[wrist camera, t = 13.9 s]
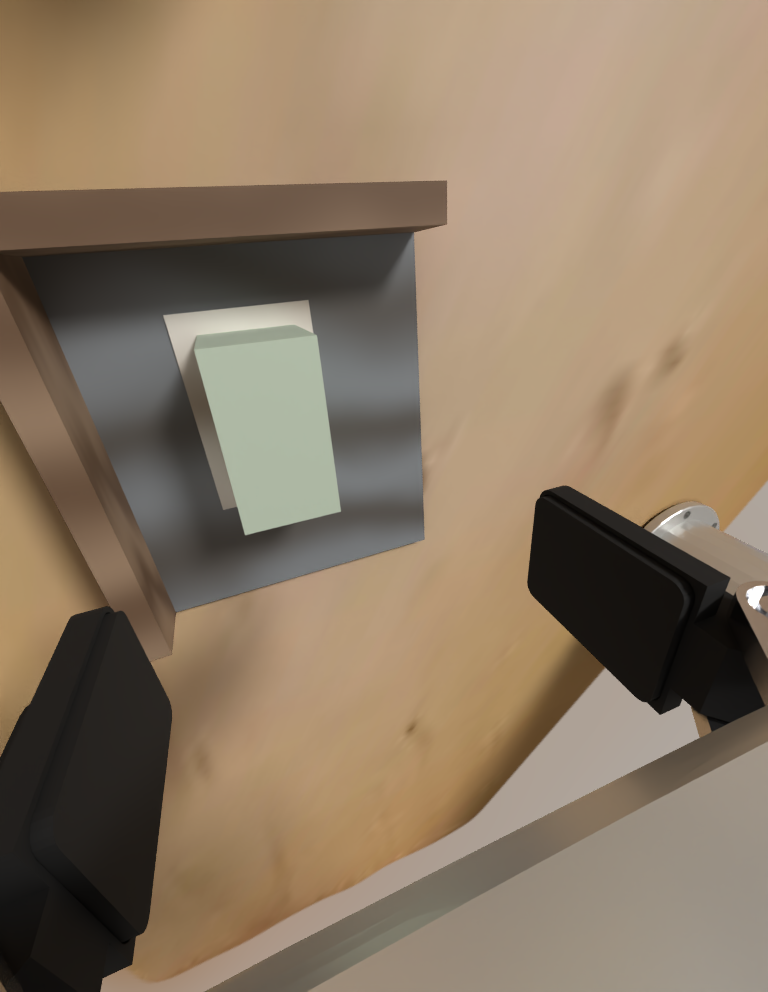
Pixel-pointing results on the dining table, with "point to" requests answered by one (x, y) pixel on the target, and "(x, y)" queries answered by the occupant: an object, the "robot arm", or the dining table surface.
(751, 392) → the dining table surface
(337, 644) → the dining table surface
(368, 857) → the dining table surface
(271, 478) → the sage block
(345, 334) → the shallow tray
